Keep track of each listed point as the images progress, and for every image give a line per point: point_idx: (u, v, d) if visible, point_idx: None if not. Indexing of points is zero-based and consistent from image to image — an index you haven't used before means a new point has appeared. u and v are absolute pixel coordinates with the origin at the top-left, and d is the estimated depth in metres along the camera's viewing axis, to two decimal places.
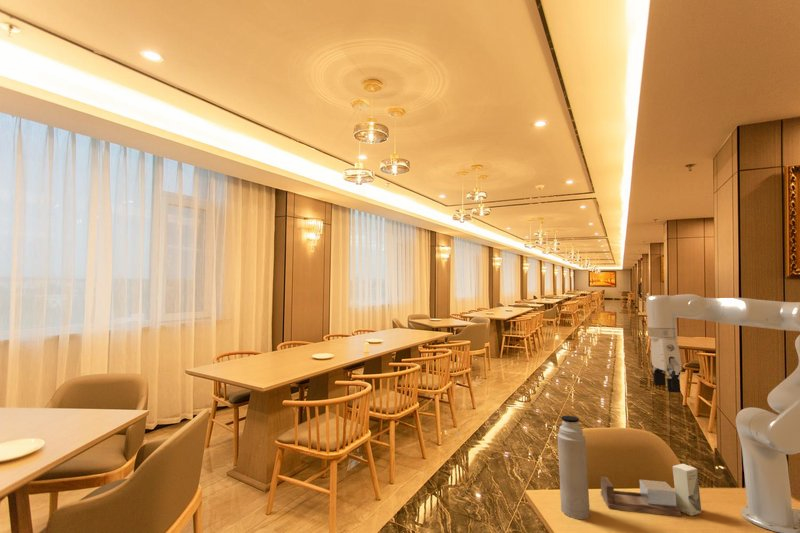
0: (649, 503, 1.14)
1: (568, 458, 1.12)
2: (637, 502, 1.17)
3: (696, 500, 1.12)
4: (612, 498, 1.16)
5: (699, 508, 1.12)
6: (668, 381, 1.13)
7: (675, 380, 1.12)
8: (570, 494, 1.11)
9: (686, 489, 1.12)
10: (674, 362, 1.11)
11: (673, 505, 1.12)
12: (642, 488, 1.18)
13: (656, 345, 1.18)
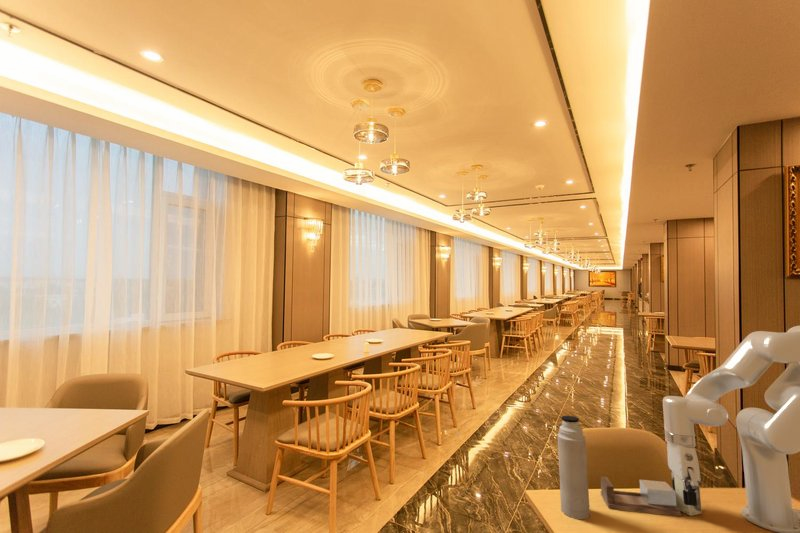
0: (649, 503, 1.14)
1: (568, 458, 1.12)
2: (637, 502, 1.17)
3: None
4: (612, 498, 1.16)
5: (699, 508, 1.12)
6: (684, 493, 1.11)
7: (691, 493, 1.10)
8: (570, 494, 1.11)
9: None
10: (692, 477, 1.09)
11: (673, 505, 1.12)
12: (642, 488, 1.18)
13: (673, 451, 1.15)
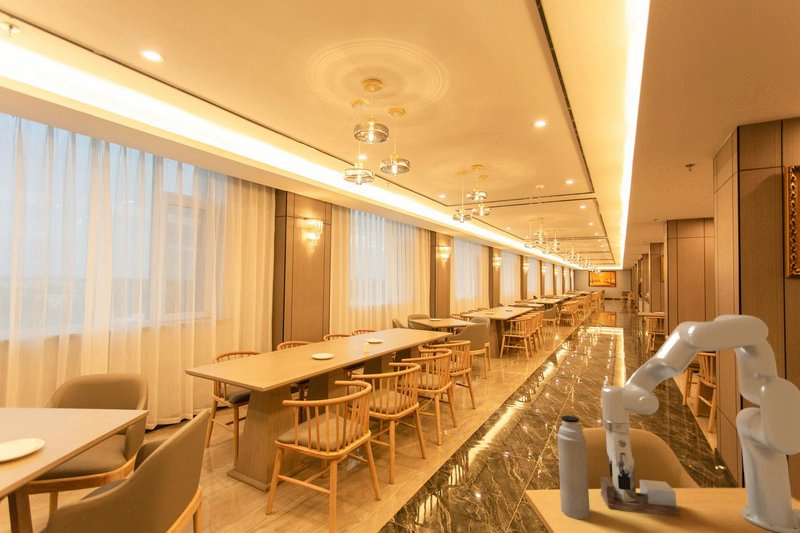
0: (649, 503, 1.14)
1: (568, 458, 1.12)
2: (637, 502, 1.17)
3: (631, 488, 1.17)
4: (612, 498, 1.16)
5: (634, 496, 1.17)
6: (619, 478, 1.15)
7: (625, 478, 1.14)
8: (570, 494, 1.11)
9: None
10: (624, 461, 1.13)
11: (673, 505, 1.12)
12: (642, 488, 1.18)
13: (609, 438, 1.20)
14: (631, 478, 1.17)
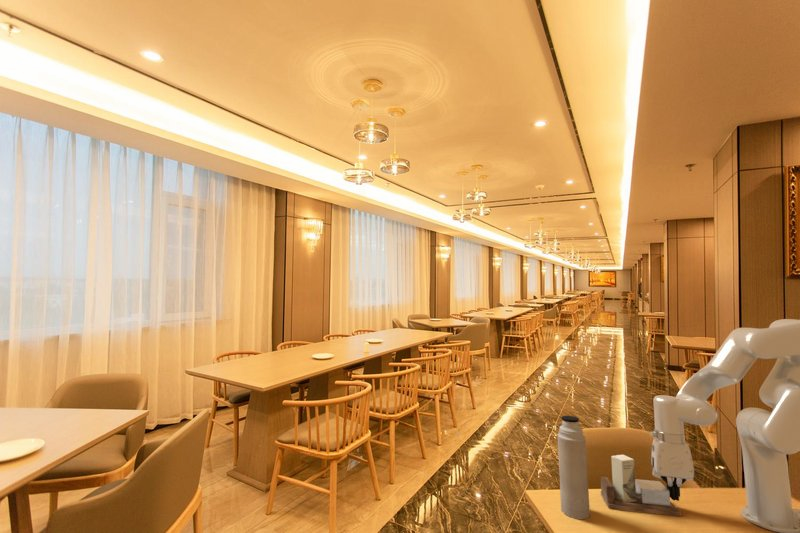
0: (643, 502, 1.14)
1: (568, 458, 1.12)
2: (637, 502, 1.17)
3: (631, 489, 1.17)
4: (612, 498, 1.16)
5: (634, 497, 1.17)
6: None
7: (667, 485, 1.16)
8: (570, 494, 1.11)
9: (621, 477, 1.17)
10: (653, 469, 1.17)
11: (667, 504, 1.13)
12: (636, 487, 1.19)
13: None
14: (631, 479, 1.17)
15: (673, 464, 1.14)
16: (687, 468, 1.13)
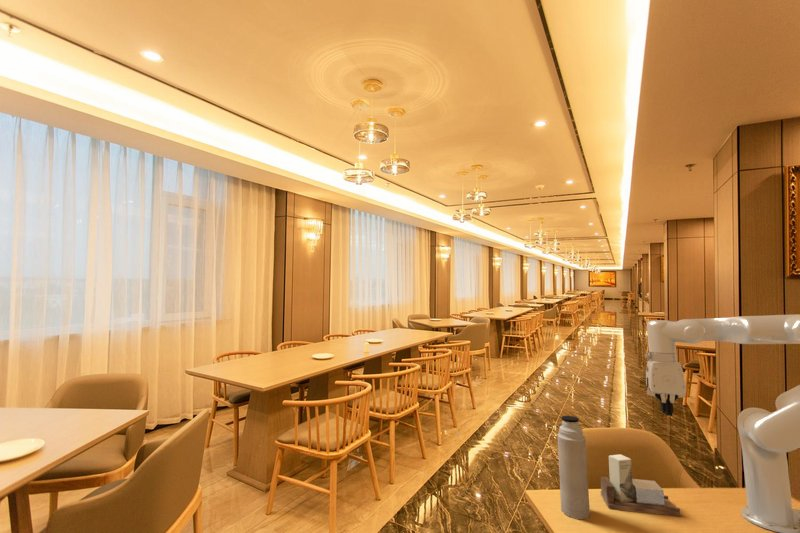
0: (637, 502, 1.14)
1: (568, 458, 1.12)
2: None
3: (628, 489, 1.17)
4: (612, 498, 1.16)
5: (631, 496, 1.17)
6: None
7: (661, 403, 1.22)
8: (570, 494, 1.11)
9: (618, 477, 1.17)
10: (648, 388, 1.24)
11: (661, 504, 1.13)
12: None
13: None
14: (628, 478, 1.17)
15: (666, 381, 1.20)
16: (679, 384, 1.19)
